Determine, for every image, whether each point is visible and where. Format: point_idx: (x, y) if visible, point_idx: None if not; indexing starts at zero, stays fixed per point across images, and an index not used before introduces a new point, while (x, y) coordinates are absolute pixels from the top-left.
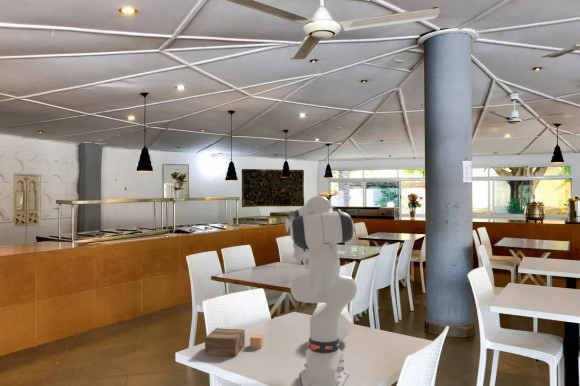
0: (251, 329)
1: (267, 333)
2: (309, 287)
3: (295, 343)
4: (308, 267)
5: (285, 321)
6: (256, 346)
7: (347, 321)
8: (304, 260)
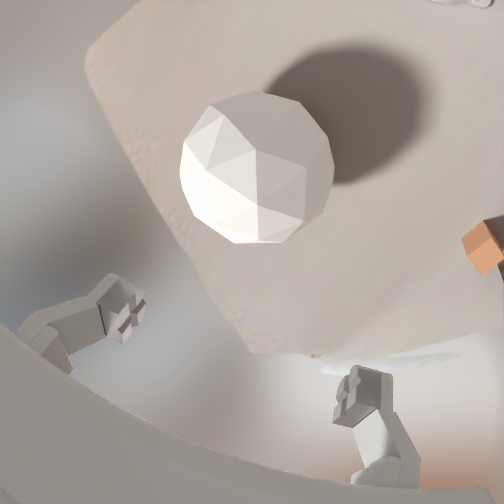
0: (402, 336)
1: (393, 298)
2: None
3: (383, 194)
4: (362, 374)
5: (301, 331)
6: (490, 231)
7: (217, 103)
8: (403, 475)
